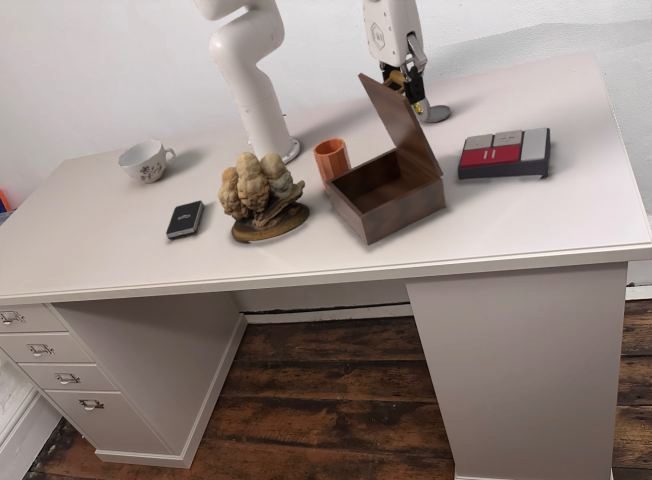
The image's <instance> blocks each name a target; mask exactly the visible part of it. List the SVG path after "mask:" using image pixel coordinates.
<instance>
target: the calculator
mask: <svg viewBox="0 0 652 480" xmlns="http://www.w3.org/2000/svg"><path fill="white" fill-rule="evenodd" d="M550 156H551V128H550V127H539V128H538V127H537V128H531V129H526V130H522V129H517V130H510V131H502V132H496V133H495V134H493V133H487V134H479V135H472V136H468V137H467V138H465V139H464V144H463V147H462V151H461V155H460V157H459V161H458V166H457V175H458V179H459V180H471V179H490V178H507V177H509V178H511V177H526V176H540V179H542V178H548V176H549V170H550V169H549V168H550V158H551V157H550Z"/></svg>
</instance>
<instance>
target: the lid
mask: <svg viewBox="0 0 652 480" xmlns="http://www.w3.org/2000/svg"><path fill="white" fill-rule="evenodd" d="M357 77H358V80H359V81H360V83H361V85H362V86H363V89H364V90H365V92H366V94H367V96H368V98H369V100H370V101H371V103H372V105H373V107H374V109H375V111H376V113H377V115H378V117H379V119H380V121H381V122H382V125H383V126H384V129H385V130H386V132H387V134H388V135H389V136H388V137H390V139H391V142H392V143H393V145H394V146H395V148H396V147H397V148H399V149H400V150H402V151H403V152H404V153H406V154H407V155H409V156H410V157H412V158H413V159H414V160H416V161H417V162H419V163H420V164H422V165H423V166H424V167H426V168H427V169H429V170H430V171H432V172H433V173H434V174H436V175H437V176H439V177H441V178H442V177H443V176H444V172H443V170H442V168H441V166H440V164H439V162H438V159H437V157H436V156H435V154H434V151H433V149H432V146H431V145H430V142H429V141H428V139H427V137H426V134H425V132H424V130H423V128H422V126H421V124H420V122H419V119H418V118H417V117H416V115H415V113H414V111H413V109H412V107H411V105H410V103H409V100H408V98H407V97H405V95H403V94H405V92H404V86H403V82H404V81H405V78H404V76H403V73H402V71H401V72H400V71H398V70H393V71H392V72H391V73H390V77H389V78H388V79H387V80H386V81H383V82H379V81H377V80H376V79H374V78H372V77H370V76H368V75H367V74H364V73H363V72H360V73H359V74H357ZM392 82H395V83H397V84H399V85H401V86H403V87H402V88H400V89H399V90H398V91H394V90H392V89H390V88H389V87H387V86H388V85H390V84H391V83H392Z"/></svg>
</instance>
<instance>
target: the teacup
mask: <svg viewBox="0 0 652 480" xmlns="http://www.w3.org/2000/svg"><path fill="white" fill-rule="evenodd" d="M167 153H170V154H172V158H171V159H170V160H169V161H168V162H167ZM175 160H176V153H175V150H174V149H173V148H172V147H166V148H164V145H163V143H162V142H161V141H159V140H158V139H148V140H144V141H141V142H138V143H137V144H135V145H133V146H132V147H130V148H128V149H126V150H125V151H124V152H123V153H122V154H120V156H119V157H118V160H117V161H118V162H117V163H118V166H119V167H120V168H121V170H122V171H123V172H124V173H126V175H128V176H129V177H130V178H132V179H134V180H135V181H138V182H141V183H144V184H152V183H154V182H156V181H158V180H159V179H161V178H162V176H163V174H164V172H165V169H166V168H167V167H169V166H170V165H171V164H174V162H175Z"/></svg>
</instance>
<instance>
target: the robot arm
mask: <svg viewBox="0 0 652 480" xmlns="http://www.w3.org/2000/svg"><path fill="white" fill-rule="evenodd" d="M193 1H194V4H195V5H196V8H197V9H198V11H199V13H200V14H201V15H202V17H203V18H204V19H206V20H207V21H209V22H215V21H218V20H221V19H223V18H226V17H227V16H229V15H231V14H233V13H234V12H236V11H238V10H240V9H241V8H243V7H244V10H245V13H243V14H241V15H240V16H238V17H235V18H234V19H233V20H231V21H229V22H227V23H226V24H224V25H222V26H220V28H218V29H217V30H216V31H215V32H214V33H213V35H212V36H211V38H210V41H209V43H208V45H209V46H208V48H209V53H210V57H211V58H212V61H213V62H214V64H215V67H216V68H217V69H218V70H219V73H220V74H221V76H222V78H223V79H224V81H225V83H226V85H227V88H228V90H229V92H230V95H231V98H232V100H233V102H234V105H235V108H236V110H237V112H238V114H239V118H240V120H241V122H242V125H243V127H244V130H245V133H246V136H247V137H248V140H247V145H248V146H251V148H252V151H253V153H252V154H255V156H256V157H257V158H258V160H259V162H260V160H261V159H262V158H263V157H264V156H265V155H266V154H268V153H277V154H279V156H280V157H281V158H282V161H283V162H284V165H287V163H289V162H291V161H292V160H293V159H294V158H296V156H297V155H298V154H299V153H300V151H301V144H300V142H299V141H298V139H295V138H292V137H291V135H290V132H289V130H288V126H287V123H286V120H285V117H284V115H283V111H282V109H281V105H280V102H279V99H278V96H277V94H276V90H275V87H274V85H273V82H272V80H271V78H270V77H269V76H268V75H267V73H265V72H264V71H262V70H261V69H260V68H258V66H257V63H259V62H260V61H262V60H263V59H264V58H265V57H267V56H268V55H270V54H272V53H273V52H274V51H277V49H279V48H280V47H281V46H282V44H283V43H284V40H285V36H286V33H285V32H286V31H285V25H284V22H283V18H282V16H281V13H280V10H279V8H278V4H277V1H276V0H193ZM361 3H362V14H363V16H362V17H363V22H364V31H365V35H366V40H367V41H366V42H367V47H368V50H369V51H368V52H369V54H370V56H371V57H372V58H374V59H376V60H378V62H379V70H380V71H381V76H382V80H383V82H384V81H386V80H387V79H388V78H389V77H390V73H391V72H392V71H393V70H398V71H400V72H402V73H403V76H404V78H405V81H404V82H403V86H404V96H405V97H407V98H408V100H409V103H410V105H413V104H415V103H417V102H419V101H421V100H423V99H425V96H426V91H425V84H424V75H425V72H424V71H425V68H426V65H427V64H428V61H429V60H428V57H427V55H426V53H425V52H424V49H425V48H424V39H423V37H424V36H423V32H422V25H421V21H420V20H421V19H420V15H419V11H418V10H419V9H418V6H417V1H416V0H361ZM409 55H411V57H409V58H407V56H409ZM410 63H413V65H412V66H411V67H410V69H409V68H408V64H410ZM403 86H401V85H399V84H397V83H395V82H392V83H391V84H390V85H388V86H387V87H389V88H390V89H392V90H394V91H396V92H397V91H398V90H399V89H400V88H402V87H403ZM417 104H418V103H417Z"/></svg>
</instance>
